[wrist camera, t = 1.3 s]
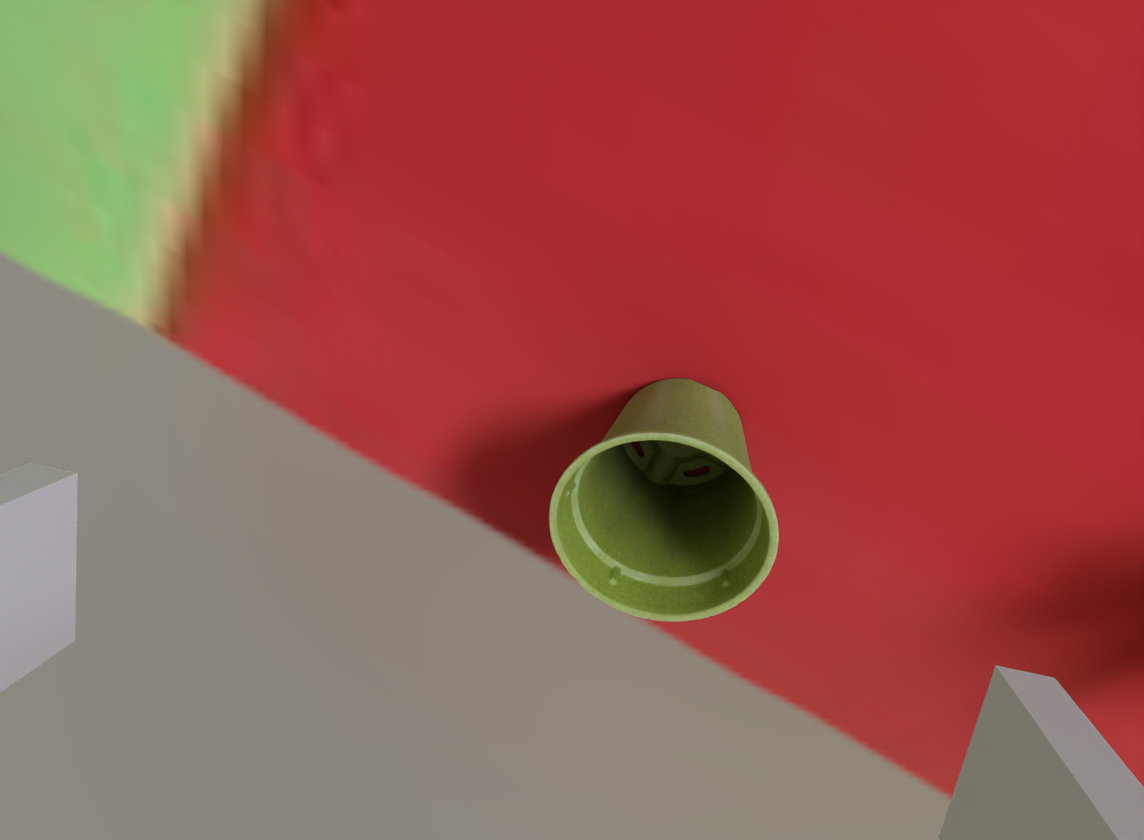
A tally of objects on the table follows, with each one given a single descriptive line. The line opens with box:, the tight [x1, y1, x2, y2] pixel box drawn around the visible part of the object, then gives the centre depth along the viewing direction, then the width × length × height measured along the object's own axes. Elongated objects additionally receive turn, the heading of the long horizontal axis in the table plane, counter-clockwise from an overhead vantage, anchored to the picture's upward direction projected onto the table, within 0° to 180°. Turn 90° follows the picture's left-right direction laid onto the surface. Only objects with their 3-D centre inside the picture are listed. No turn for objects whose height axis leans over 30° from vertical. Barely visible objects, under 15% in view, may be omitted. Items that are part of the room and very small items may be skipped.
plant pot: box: [549, 378, 779, 622], centre depth 38 cm, size 9×9×9 cm
